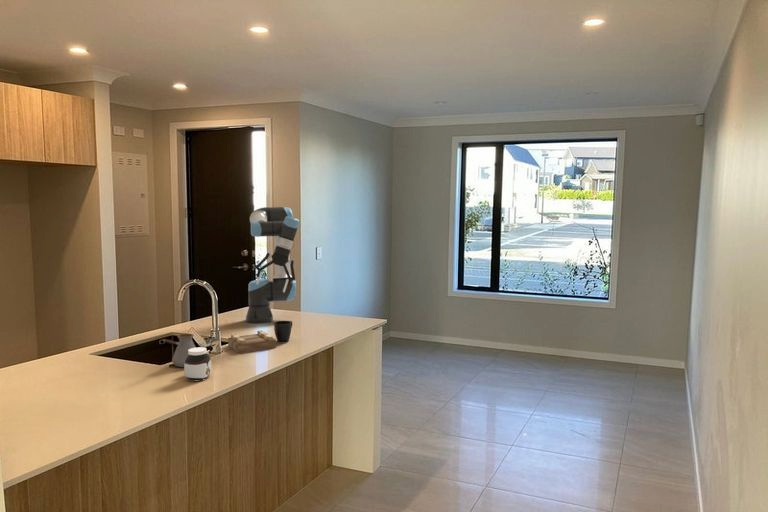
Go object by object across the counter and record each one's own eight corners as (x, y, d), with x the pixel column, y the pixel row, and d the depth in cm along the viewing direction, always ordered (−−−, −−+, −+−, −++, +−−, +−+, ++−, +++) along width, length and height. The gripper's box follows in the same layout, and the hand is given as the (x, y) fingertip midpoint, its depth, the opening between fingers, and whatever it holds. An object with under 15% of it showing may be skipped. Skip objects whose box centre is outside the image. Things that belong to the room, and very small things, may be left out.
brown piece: (228, 346, 275) (228, 334, 274) (264, 340, 285) (264, 329, 284) (238, 353, 262) (238, 341, 262) (275, 347, 272) (275, 336, 271)
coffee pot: (183, 360, 251) (182, 326, 250) (206, 362, 248) (205, 328, 247) (150, 375, 231) (148, 338, 229) (175, 377, 228) (173, 340, 226)
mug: (299, 338, 289) (298, 319, 288) (285, 344, 278) (284, 324, 277) (285, 336, 293) (284, 318, 292) (271, 342, 282) (270, 323, 281)
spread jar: (198, 383, 221) (197, 353, 220) (174, 380, 225) (172, 351, 224) (217, 374, 232) (216, 346, 231) (194, 371, 236) (193, 343, 235)
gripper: (259, 239, 281) (246, 281, 280) (308, 255, 287) (295, 296, 287) (258, 239, 288) (245, 280, 287) (306, 254, 295) (293, 294, 294)
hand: (270, 288), depth 287 cm, fingers open, 13 cm apart
